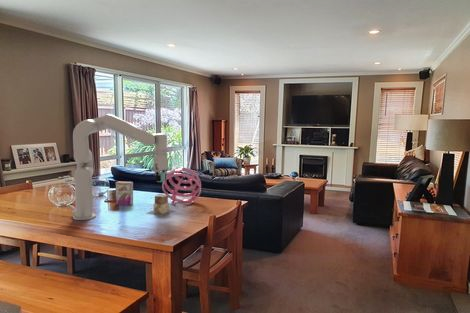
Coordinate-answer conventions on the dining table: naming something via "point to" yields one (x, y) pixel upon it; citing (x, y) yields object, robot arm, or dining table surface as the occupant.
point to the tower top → (161, 199)
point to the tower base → (161, 208)
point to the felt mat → (161, 214)
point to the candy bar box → (124, 193)
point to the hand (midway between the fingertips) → (161, 180)
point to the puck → (162, 176)
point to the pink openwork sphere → (177, 187)
